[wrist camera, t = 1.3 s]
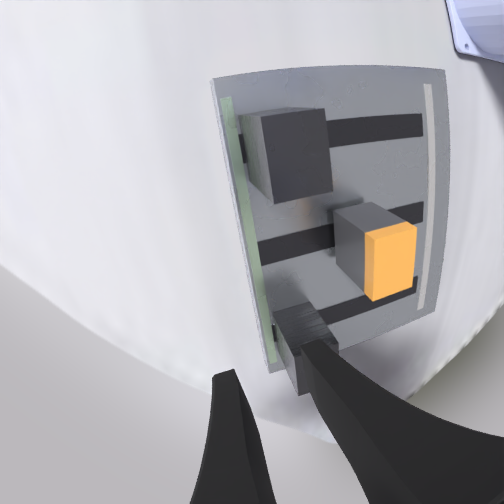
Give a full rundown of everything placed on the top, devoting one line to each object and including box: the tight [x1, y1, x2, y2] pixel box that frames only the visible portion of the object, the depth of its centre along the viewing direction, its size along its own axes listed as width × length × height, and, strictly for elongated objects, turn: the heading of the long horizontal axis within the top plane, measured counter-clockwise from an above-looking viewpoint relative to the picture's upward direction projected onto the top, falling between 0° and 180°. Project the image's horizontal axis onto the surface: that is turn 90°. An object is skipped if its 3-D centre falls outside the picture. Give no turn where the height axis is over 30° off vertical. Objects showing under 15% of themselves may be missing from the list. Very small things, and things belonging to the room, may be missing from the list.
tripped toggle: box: [333, 202, 417, 302], centre depth 16 cm, size 2×3×4 cm
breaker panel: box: [210, 65, 450, 396], centre depth 17 cm, size 14×18×5 cm
